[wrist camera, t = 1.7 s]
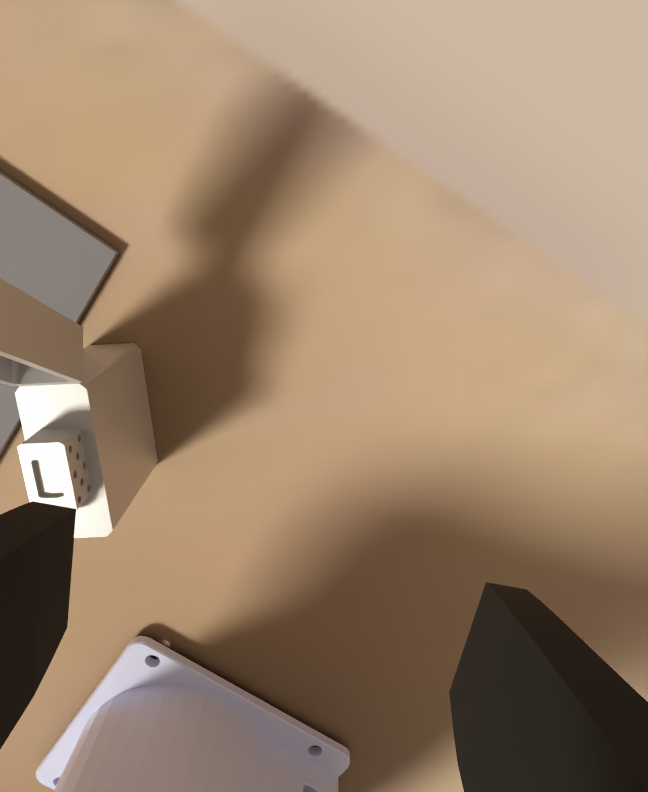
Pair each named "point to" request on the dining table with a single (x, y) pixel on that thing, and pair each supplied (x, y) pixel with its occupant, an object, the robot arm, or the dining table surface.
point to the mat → (45, 266)
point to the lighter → (76, 413)
